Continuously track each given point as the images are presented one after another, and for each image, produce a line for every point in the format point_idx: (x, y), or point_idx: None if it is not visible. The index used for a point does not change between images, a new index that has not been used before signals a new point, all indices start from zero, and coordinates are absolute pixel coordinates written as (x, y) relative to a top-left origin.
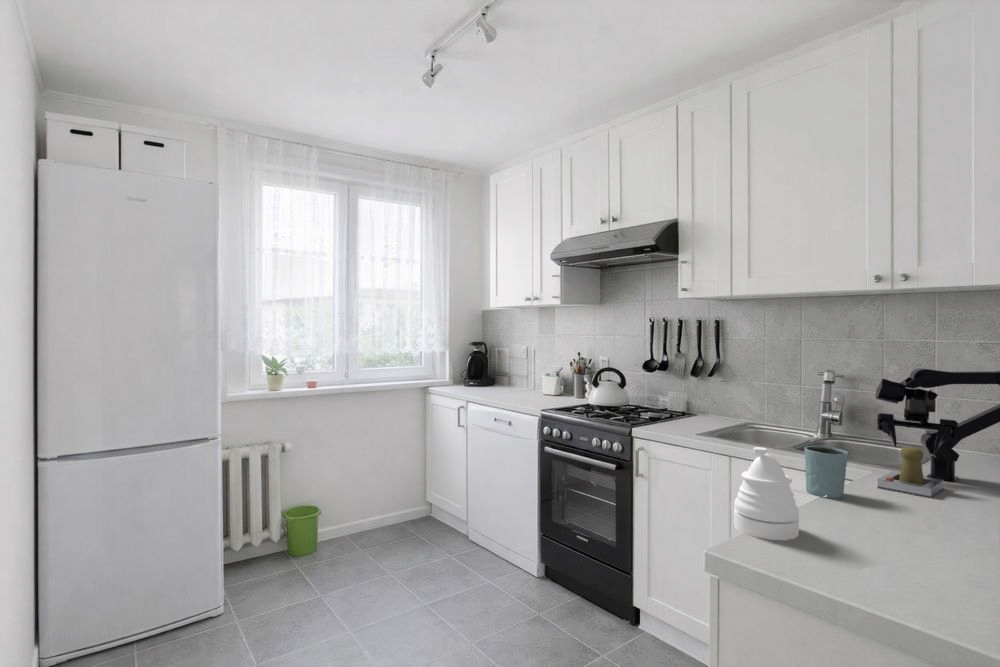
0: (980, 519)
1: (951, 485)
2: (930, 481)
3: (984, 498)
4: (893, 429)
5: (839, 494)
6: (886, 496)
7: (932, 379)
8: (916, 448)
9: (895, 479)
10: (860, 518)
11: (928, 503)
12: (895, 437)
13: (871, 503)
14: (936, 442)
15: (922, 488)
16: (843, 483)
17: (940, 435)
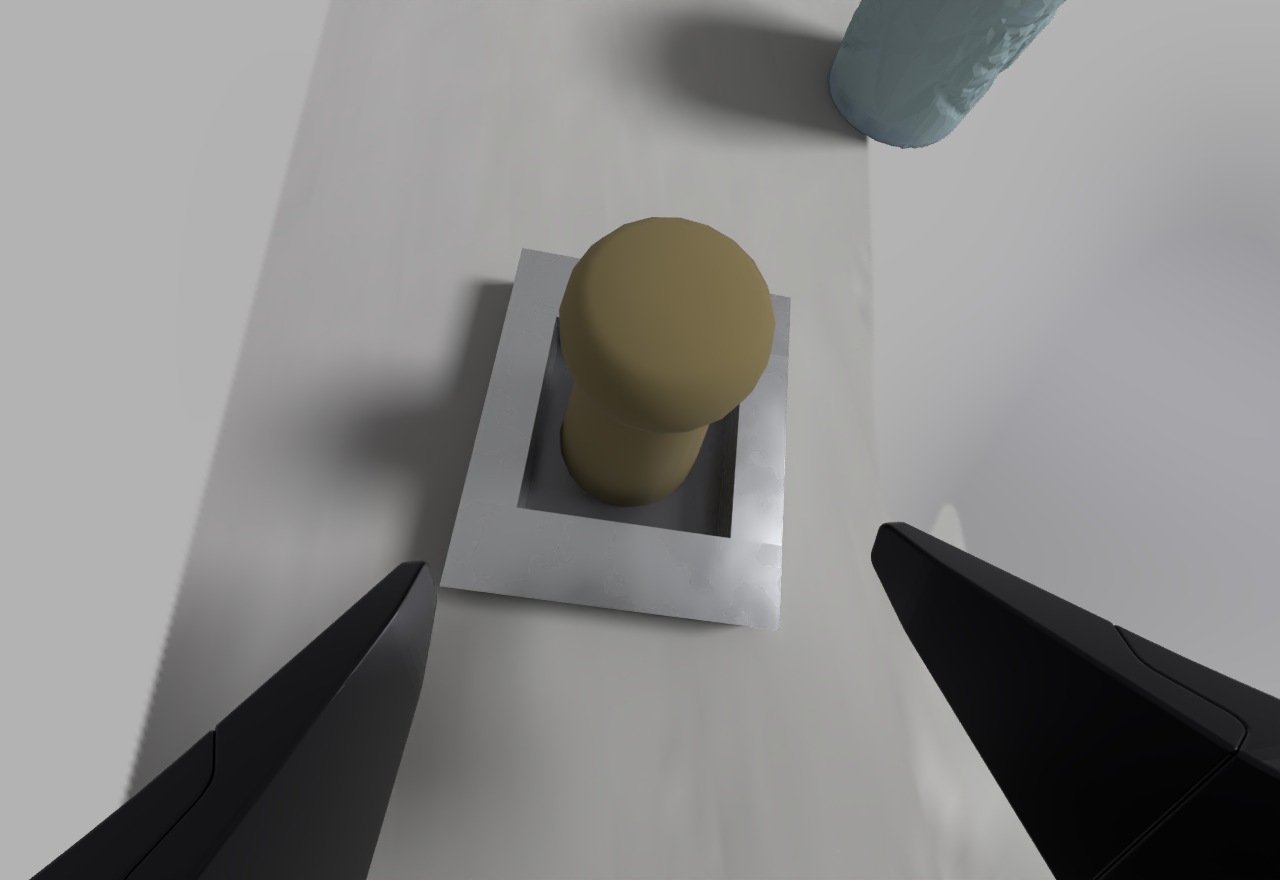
0: (352, 66)
1: (399, 772)
2: (526, 451)
3: (243, 487)
4: (1245, 731)
5: (839, 50)
6: (702, 193)
7: None
8: (629, 277)
9: (725, 485)
10: None
11: (536, 183)
12: (991, 586)
13: (724, 62)
14: (345, 654)
15: (564, 260)
16: (858, 17)
17: (103, 877)
